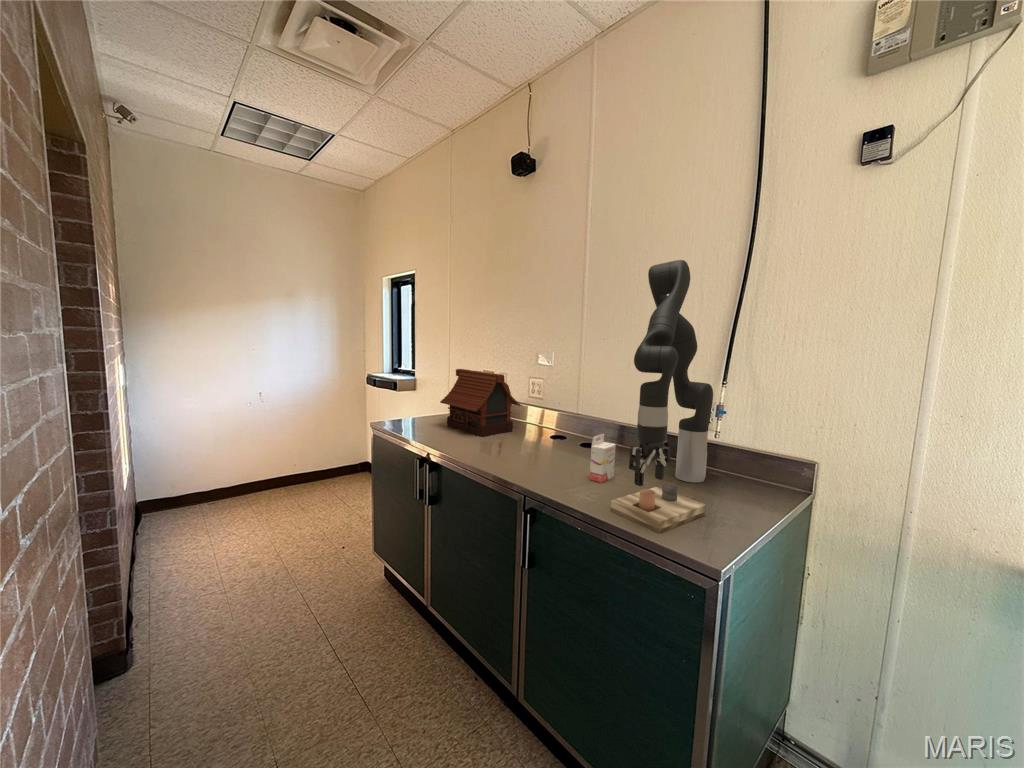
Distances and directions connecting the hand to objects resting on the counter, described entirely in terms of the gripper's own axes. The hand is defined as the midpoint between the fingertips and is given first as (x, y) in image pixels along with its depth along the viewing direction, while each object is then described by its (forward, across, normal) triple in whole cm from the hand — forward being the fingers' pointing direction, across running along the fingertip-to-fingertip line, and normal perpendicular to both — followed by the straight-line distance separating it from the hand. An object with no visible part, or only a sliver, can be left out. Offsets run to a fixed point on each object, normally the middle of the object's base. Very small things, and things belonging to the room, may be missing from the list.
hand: (649, 482), depth 114 cm
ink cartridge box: (+10, -13, -28) cm, 32 cm away
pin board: (+10, -5, 0) cm, 11 cm away
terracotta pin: (+9, 0, 0) cm, 9 cm away
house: (+10, -16, -114) cm, 116 cm away
